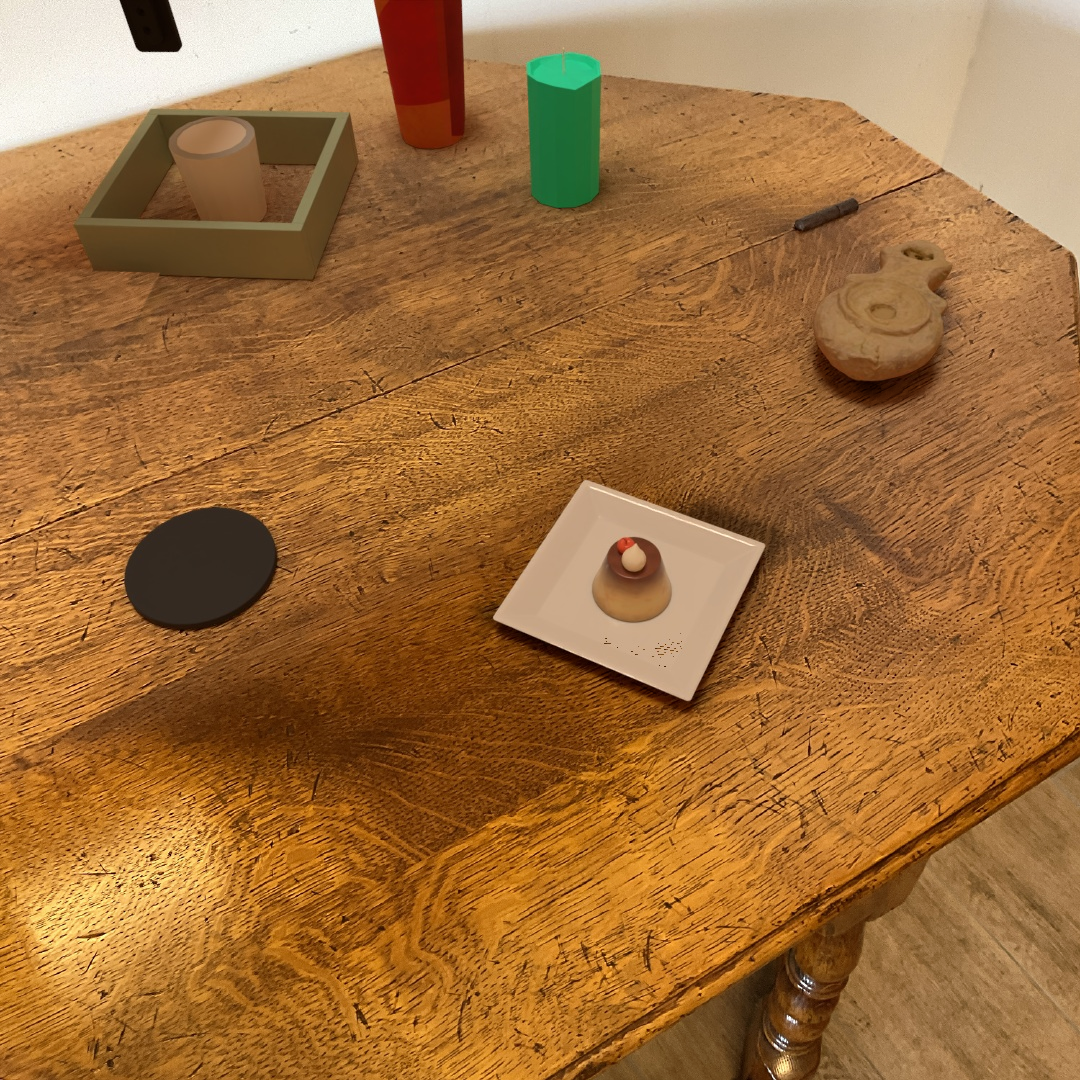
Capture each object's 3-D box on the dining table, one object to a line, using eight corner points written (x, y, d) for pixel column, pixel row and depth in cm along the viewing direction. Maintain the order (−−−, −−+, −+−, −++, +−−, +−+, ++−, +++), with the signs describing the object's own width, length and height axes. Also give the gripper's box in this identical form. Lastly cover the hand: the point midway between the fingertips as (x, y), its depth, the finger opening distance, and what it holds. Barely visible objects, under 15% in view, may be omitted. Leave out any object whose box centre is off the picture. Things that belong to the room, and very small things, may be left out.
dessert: (584, 490, 64) (585, 437, 60) (763, 555, 60) (776, 502, 56) (492, 629, 57) (487, 579, 54) (687, 712, 54) (696, 664, 50)
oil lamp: (928, 280, 77) (947, 222, 73) (973, 407, 68) (997, 349, 64) (789, 279, 77) (800, 223, 74) (814, 406, 68) (829, 349, 64)
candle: (522, 204, 85) (516, 62, 76) (539, 167, 89) (535, 28, 79) (591, 211, 84) (593, 69, 75) (605, 173, 88) (609, 33, 78)
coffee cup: (443, 101, 97) (425, -70, 85) (495, 133, 93) (484, -42, 81) (370, 131, 94) (342, -43, 82) (421, 166, 89) (398, -12, 78)
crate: (94, 273, 80) (72, 224, 77) (166, 155, 92) (150, 108, 88) (312, 280, 79) (300, 230, 76) (358, 159, 90) (350, 111, 87)
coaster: (105, 625, 58) (101, 619, 58) (156, 509, 64) (152, 503, 63) (255, 634, 57) (252, 628, 57) (293, 516, 63) (291, 510, 63)
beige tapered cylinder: (178, 214, 86) (151, 137, 80) (245, 182, 88) (223, 105, 83) (222, 246, 82) (197, 168, 77) (290, 212, 85) (271, 134, 80)
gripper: (86, -311, 65) (171, -30, 79) (-33, -236, 54) (89, 76, 68) (196, -314, 65) (263, -30, 78) (98, -239, 54) (196, 76, 67)
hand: (182, 19), depth 73 cm, fingers open, 9 cm apart
